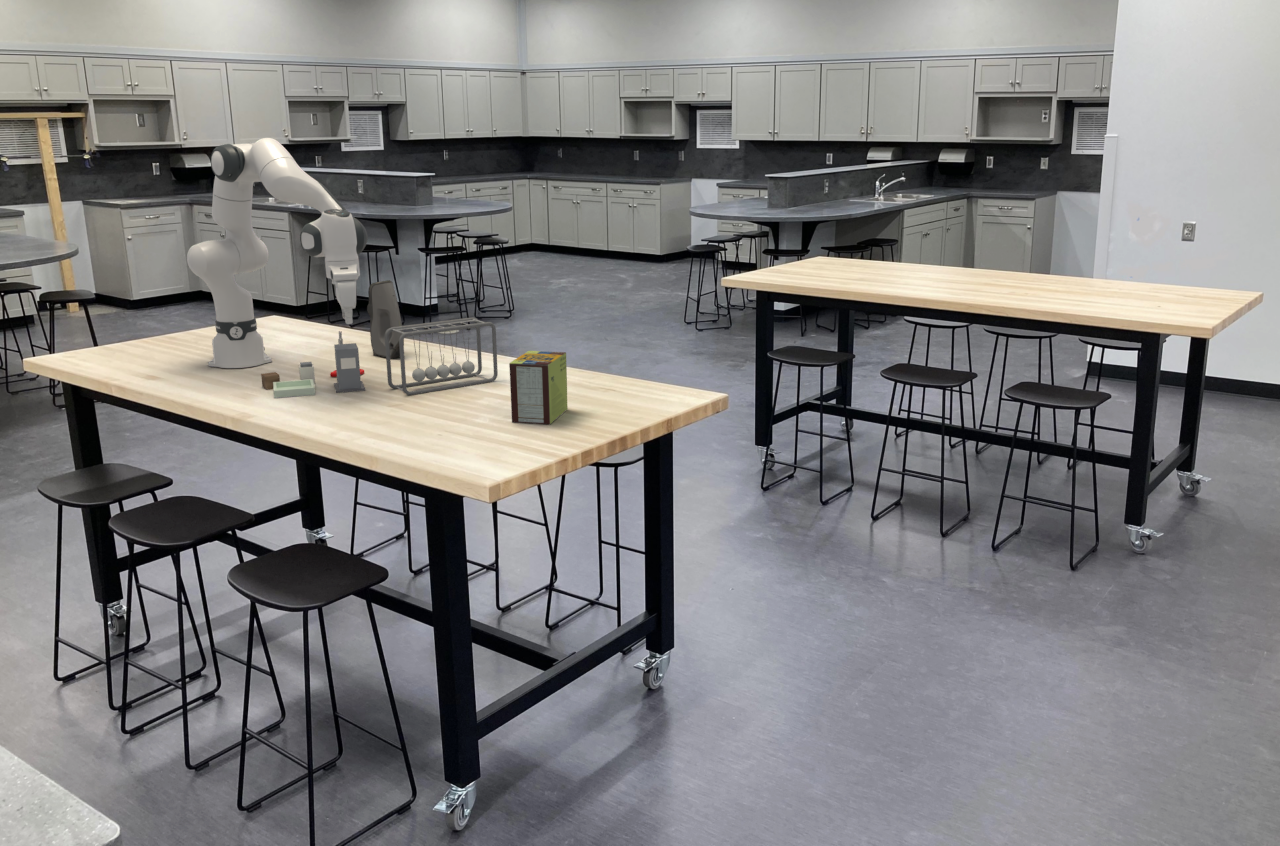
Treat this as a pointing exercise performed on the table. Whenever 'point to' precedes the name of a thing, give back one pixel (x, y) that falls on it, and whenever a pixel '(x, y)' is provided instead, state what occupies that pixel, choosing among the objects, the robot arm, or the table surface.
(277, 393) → the tray
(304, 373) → the block
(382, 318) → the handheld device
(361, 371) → the tow hook
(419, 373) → the newton's cradle
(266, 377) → the walnut block
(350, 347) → the control box
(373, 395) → the table surface
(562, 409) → the protein box
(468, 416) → the table surface
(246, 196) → the robot arm
